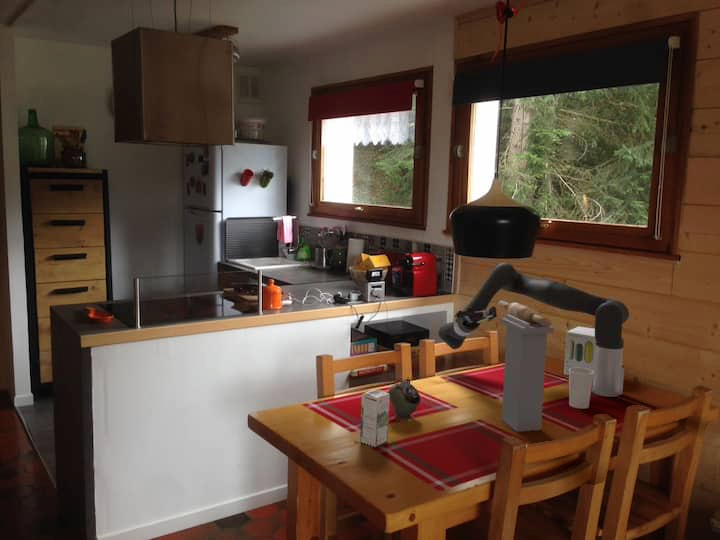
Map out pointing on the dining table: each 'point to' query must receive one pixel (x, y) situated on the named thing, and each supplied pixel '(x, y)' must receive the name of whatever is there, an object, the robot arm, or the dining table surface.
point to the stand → (524, 373)
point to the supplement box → (580, 349)
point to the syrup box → (374, 417)
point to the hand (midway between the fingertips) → (483, 309)
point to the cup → (580, 387)
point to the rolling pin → (524, 313)
